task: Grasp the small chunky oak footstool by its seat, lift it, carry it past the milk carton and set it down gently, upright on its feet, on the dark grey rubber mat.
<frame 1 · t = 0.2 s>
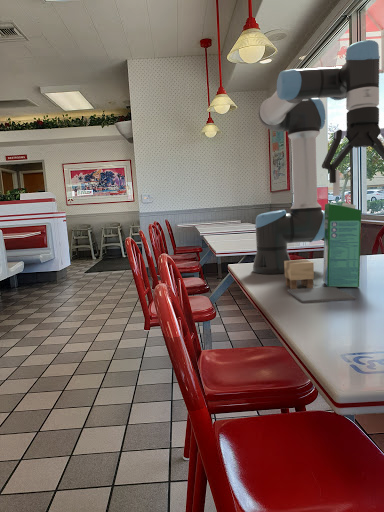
hand: (362, 194, 99), 27 cm above the table, fingers open, 13 cm apart
footstool: (299, 286, 120), on the table
milk carton: (340, 284, 118), on the table, touching mat
mat: (319, 295, 108), on the table
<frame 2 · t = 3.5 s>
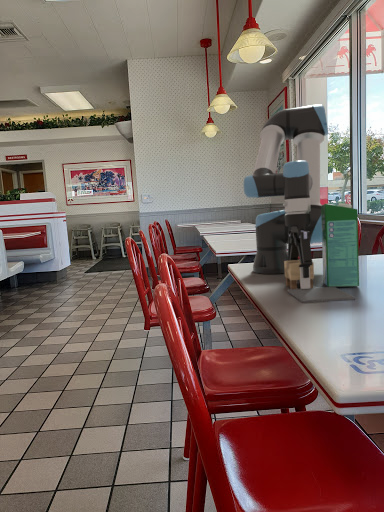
hand: (300, 285, 119), 1 cm above the table, fingers open, 10 cm apart
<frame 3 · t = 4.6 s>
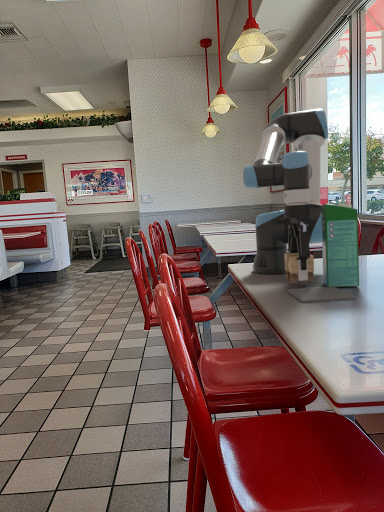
hand: (299, 277, 120), 3 cm above the table, fingers closed on footstool, 7 cm apart
footstool: (299, 279, 120), point 2 cm above the table, touching gripper
everything else where it was.
when the fingers open (2 cm above the table, at t = 9.3 s): footstool stays where it is, resting on mat.
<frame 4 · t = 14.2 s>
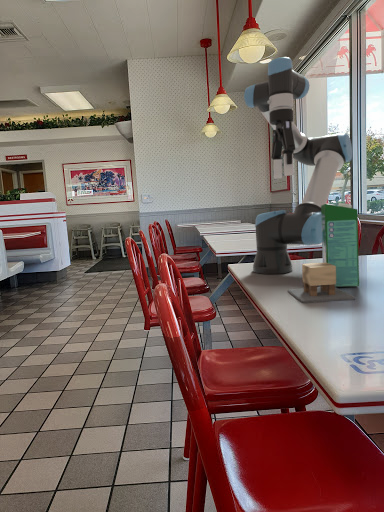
hand: (283, 177, 126), 35 cm above the table, fingers open, 13 cm apart
footstool: (318, 292, 108), point 1 cm above the table, touching mat
everything else where it was.
at the end: footstool inside the target area on the mat (0.1 cm from its centre), point 0.6 cm above the mat's base; footstool tilted 0°; the gripper is holding nothing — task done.
